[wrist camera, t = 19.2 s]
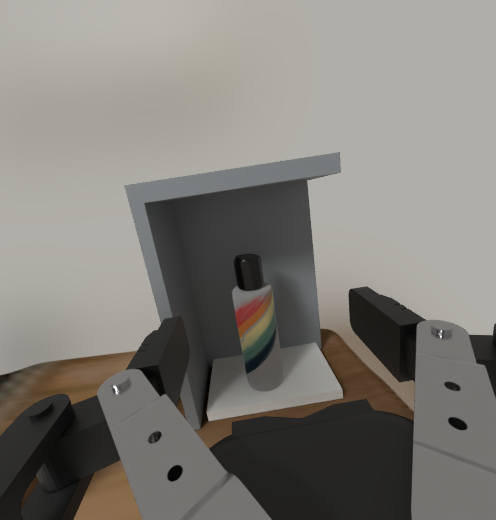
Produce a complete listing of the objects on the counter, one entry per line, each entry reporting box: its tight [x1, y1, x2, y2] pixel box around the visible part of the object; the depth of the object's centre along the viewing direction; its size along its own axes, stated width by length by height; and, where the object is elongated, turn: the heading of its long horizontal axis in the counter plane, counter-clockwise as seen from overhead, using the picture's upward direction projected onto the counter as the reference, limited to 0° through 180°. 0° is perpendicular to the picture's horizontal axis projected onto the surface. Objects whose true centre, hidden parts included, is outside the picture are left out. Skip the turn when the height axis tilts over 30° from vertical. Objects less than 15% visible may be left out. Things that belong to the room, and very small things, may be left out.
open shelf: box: [125, 152, 341, 430], centre depth 36 cm, size 22×14×32 cm, turn 93°
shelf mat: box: [207, 342, 343, 421], centre depth 40 cm, size 19×12×2 cm, turn 93°
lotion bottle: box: [232, 254, 283, 391], centre depth 36 cm, size 6×6×20 cm
